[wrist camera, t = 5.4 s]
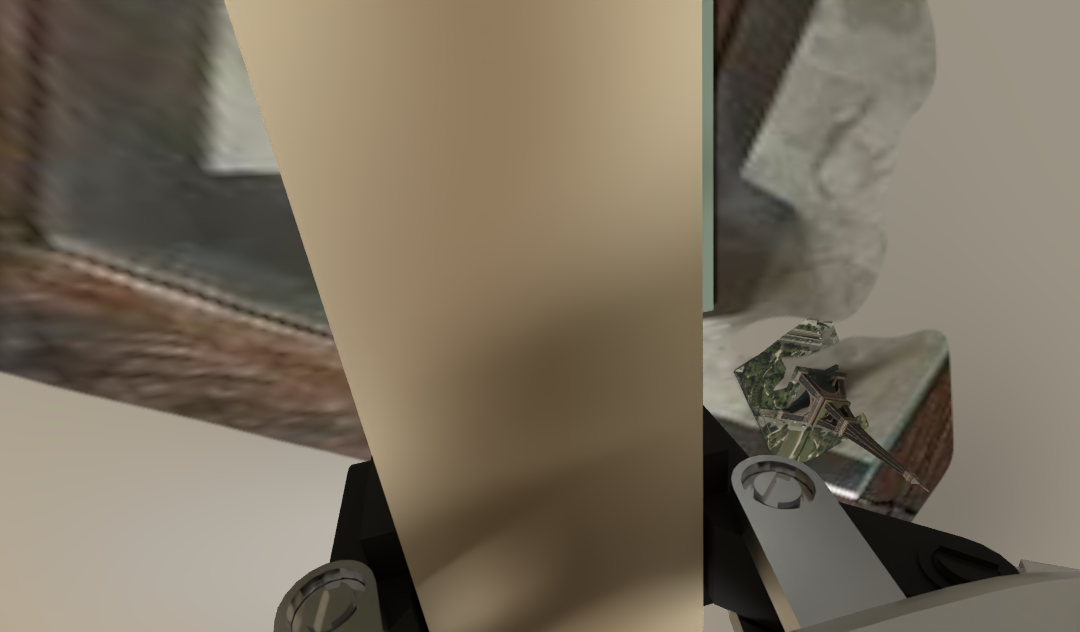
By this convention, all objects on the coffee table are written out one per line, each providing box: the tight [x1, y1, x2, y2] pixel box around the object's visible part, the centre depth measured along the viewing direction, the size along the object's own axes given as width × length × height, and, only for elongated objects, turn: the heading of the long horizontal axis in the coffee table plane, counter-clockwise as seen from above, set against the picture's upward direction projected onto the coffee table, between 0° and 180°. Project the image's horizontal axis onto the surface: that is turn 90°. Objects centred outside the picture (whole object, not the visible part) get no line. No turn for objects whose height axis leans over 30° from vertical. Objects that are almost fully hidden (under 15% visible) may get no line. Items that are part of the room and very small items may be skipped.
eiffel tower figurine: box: [734, 319, 930, 492], centre depth 44 cm, size 15×10×13 cm
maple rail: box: [224, 0, 703, 632], centre depth 9 cm, size 4×19×3 cm, turn 8°
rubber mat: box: [702, 0, 713, 312], centre depth 37 cm, size 10×24×1 cm, turn 8°
